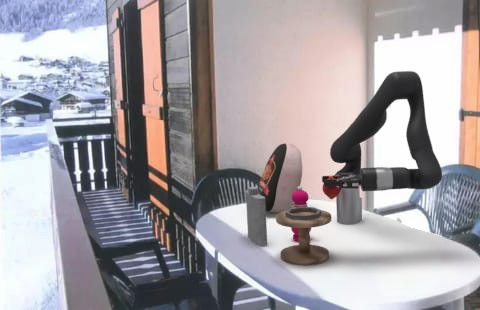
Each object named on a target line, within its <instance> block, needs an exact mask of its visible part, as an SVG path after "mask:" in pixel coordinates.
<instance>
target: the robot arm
mask: <svg viewBox="0 0 480 310" xmlns="http://www.w3.org/2000/svg"><path fill="white" fill-rule="evenodd" d="M422 83H423V82H422V80H421V77H420V76H419V74H418V73H417V72H415V71H411V70H407V71H406V70H405V71H404V70H402V71H393V72H391V73H389V74H388V75H386V77H385V78H384V80H383V81H382V83H381V84H380V85H379V87H378V89H377V90H376V93H375V94H374V95H373V96H372V98H371V99H370V101H369V102H368V103H367V104H366V106H365V107H364V108H363V109H362V110H361V112H359V114H358V115H357V117H356V118H355V119H354V120H353V122H352V123H351V124H350V125H349V127H348V128H347V129H346V130H345V131H344V132H343V133H342V134H341V135H339V137H337V138H336V139H335V140H334V141H333V142H332V144H331V147H330V150H329V155H330V158H331V160H332V161H333V162H335V163H336V164H344V165H343V166H342V168H341V169H339V170H338V171H336V173H335V174H333V175H332V177H334V178H335V179H330V180H327V179H328V178H329V175H322V176H321V182H322V183H323V184H324V186H325V187H339V188H340V189H341V191H340V193H339V195H338V196H336V197H335V199H336V222H337V223H338V224H344V225H354V224H359V223H360V222H362V221H363V198H362V197H361V195H360V194H361V191H362V192H377V191H378V192H383V191H387V190H388V191H391V190H403V189H408V190H429V189H433V188H434V187H436V186H438V185H439V184H440V183H441V181H442V180H443V171H442V166H441V165H440V164H441V163H439V160H438V159H437V155H435V152H434V149H433V145H432V141H431V138H430V137H431V136H430V133H429V130H428V125H427V118H426V111H425V110H426V108H425V100H424V99H425V98H424V89H423V84H422ZM399 100H407V102H408V105H409V119H408V123H407V127H406V135H405V136H406V142H407V147H408V149H409V153H410V156H411V159H412V160H414V161H415V163H416V167H417V168H407V167H404V166H394V167H387V166H385V167H384V166H380V167H379V166H377V167H376V166H375V167H374V166H373V167H362V145H361V143H364V142H365V141H367V140H369V139H370V138H372V137H374V136H375V135H376V134H377V133H378V132H380V131H381V129H382V128H383V127H384V126H385V124H386V122H387V118H388V112H387V110H388V109H389V107H390V106H391V104H393V103H394V102H395V101H399ZM360 189H361V191H360Z"/></svg>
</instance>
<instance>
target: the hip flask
mask: <svg viewBox="0 0 480 310" xmlns="http://www.w3.org/2000/svg"><path fill="white" fill-rule="evenodd" d="M258 187H259V186H258ZM258 187H257V186H250V187H248V188H247V189H246V190H245V201H246V203H245V204H246V221H247V237H248V239H250V240H249V241H251V242H252V243H254V244H255V245H256V246H259V247H260V248H262V247H267V246H268V231H267V230H268V228H267V211H266V204H265V197H263V196H261V195H259V194H258Z"/></svg>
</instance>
